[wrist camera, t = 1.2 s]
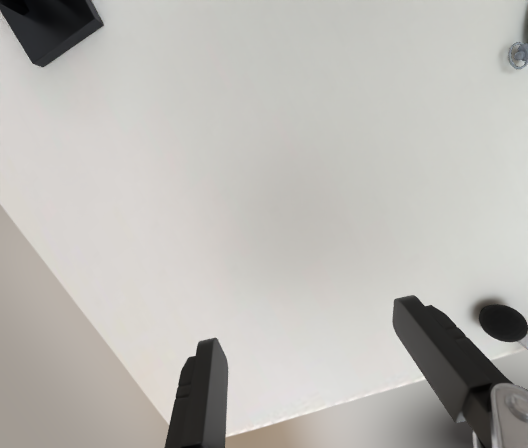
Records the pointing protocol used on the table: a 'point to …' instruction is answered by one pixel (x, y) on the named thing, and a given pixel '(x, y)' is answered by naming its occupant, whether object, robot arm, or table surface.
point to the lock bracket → (50, 25)
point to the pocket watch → (519, 54)
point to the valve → (504, 324)
